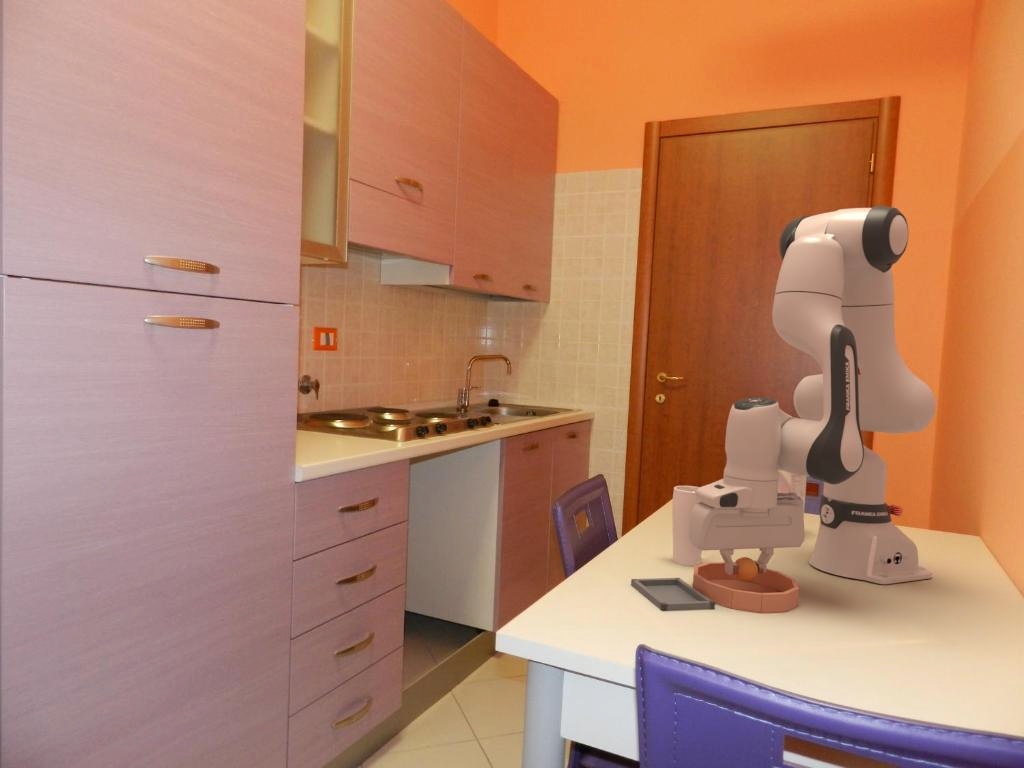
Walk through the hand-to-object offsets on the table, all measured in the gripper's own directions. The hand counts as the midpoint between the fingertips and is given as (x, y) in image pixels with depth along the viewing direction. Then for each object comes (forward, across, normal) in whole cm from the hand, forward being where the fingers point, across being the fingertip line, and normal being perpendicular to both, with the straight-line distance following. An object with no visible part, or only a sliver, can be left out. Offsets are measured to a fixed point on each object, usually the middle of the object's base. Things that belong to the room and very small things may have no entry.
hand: (745, 573), depth 116 cm
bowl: (+4, +1, +1) cm, 4 cm away
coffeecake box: (+5, -33, -43) cm, 54 cm away
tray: (+4, +14, +1) cm, 15 cm away
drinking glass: (+4, +2, -17) cm, 18 cm away
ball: (+1, 0, 0) cm, 1 cm away
